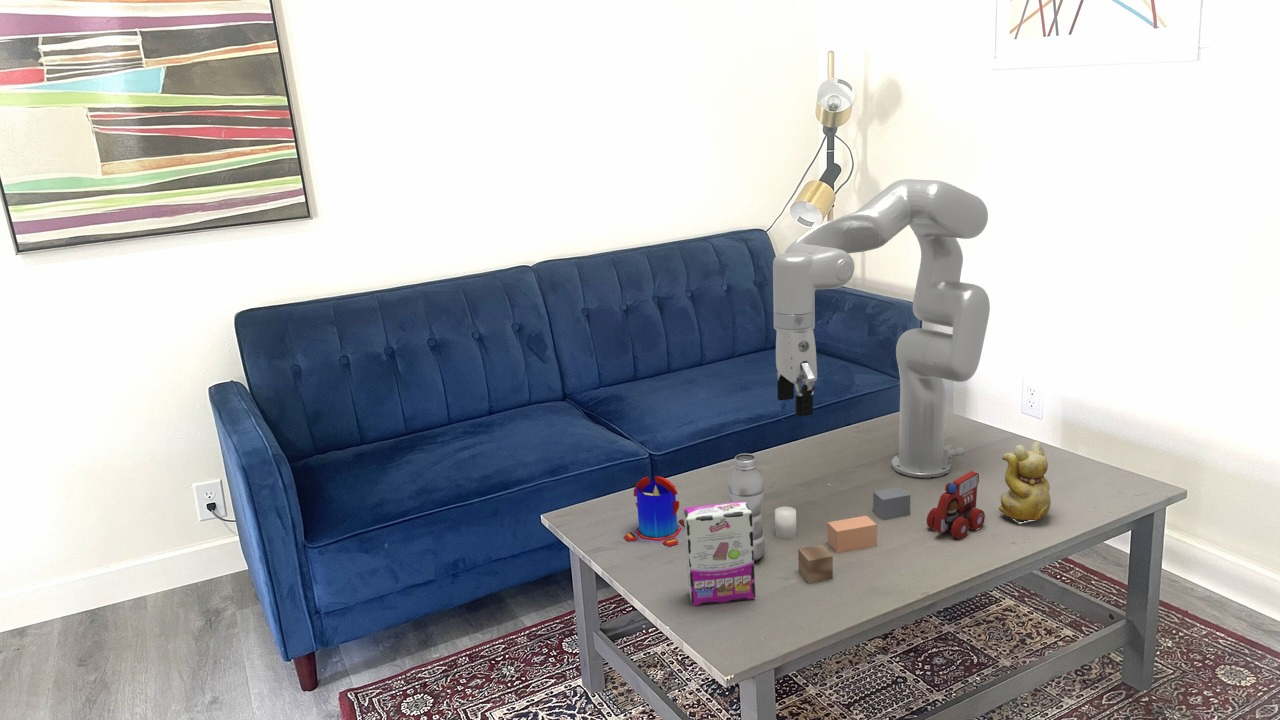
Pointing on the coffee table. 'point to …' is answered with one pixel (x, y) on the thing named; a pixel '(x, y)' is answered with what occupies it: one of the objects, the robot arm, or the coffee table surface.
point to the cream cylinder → (785, 522)
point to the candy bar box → (719, 553)
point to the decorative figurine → (1026, 484)
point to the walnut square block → (815, 563)
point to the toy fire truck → (958, 507)
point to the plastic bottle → (749, 496)
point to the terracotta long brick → (852, 534)
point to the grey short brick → (891, 503)
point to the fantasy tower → (656, 512)
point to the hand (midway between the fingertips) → (794, 407)
